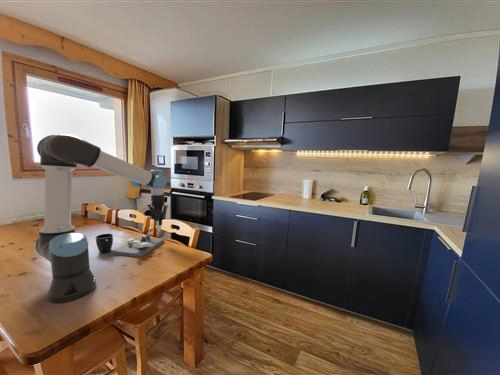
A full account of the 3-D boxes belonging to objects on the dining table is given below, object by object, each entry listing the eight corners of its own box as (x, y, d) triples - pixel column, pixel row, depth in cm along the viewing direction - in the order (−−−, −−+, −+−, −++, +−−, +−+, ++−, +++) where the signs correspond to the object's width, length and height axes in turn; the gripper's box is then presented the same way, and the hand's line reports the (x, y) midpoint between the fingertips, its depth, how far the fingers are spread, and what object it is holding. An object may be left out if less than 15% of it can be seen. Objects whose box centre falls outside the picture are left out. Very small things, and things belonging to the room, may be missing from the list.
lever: (146, 240, 135) (152, 229, 133) (142, 238, 135) (148, 227, 133) (148, 239, 138) (154, 228, 136) (145, 236, 138) (151, 226, 136)
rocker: (139, 247, 117) (140, 244, 117) (132, 247, 118) (133, 244, 118) (150, 245, 127) (151, 242, 127) (144, 244, 127) (144, 241, 128)
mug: (98, 257, 115) (97, 241, 114) (95, 250, 124) (94, 235, 123) (116, 253, 121) (115, 238, 119) (112, 247, 129) (111, 232, 128)
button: (132, 244, 128) (132, 241, 128) (125, 244, 129) (125, 240, 128) (137, 242, 132) (136, 238, 132) (130, 241, 133) (130, 237, 133)
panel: (141, 257, 117) (140, 248, 116) (112, 254, 120) (112, 246, 119) (163, 241, 140) (163, 234, 139) (139, 239, 142) (139, 232, 142)
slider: (138, 247, 125) (138, 242, 125) (132, 246, 126) (132, 241, 125) (141, 245, 127) (140, 240, 127) (135, 244, 128) (135, 240, 128)
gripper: (170, 193, 134) (171, 229, 137) (152, 192, 136) (153, 227, 139) (163, 195, 126) (165, 232, 130) (144, 194, 128) (146, 231, 131)
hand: (158, 230), depth 134 cm, fingers closed
